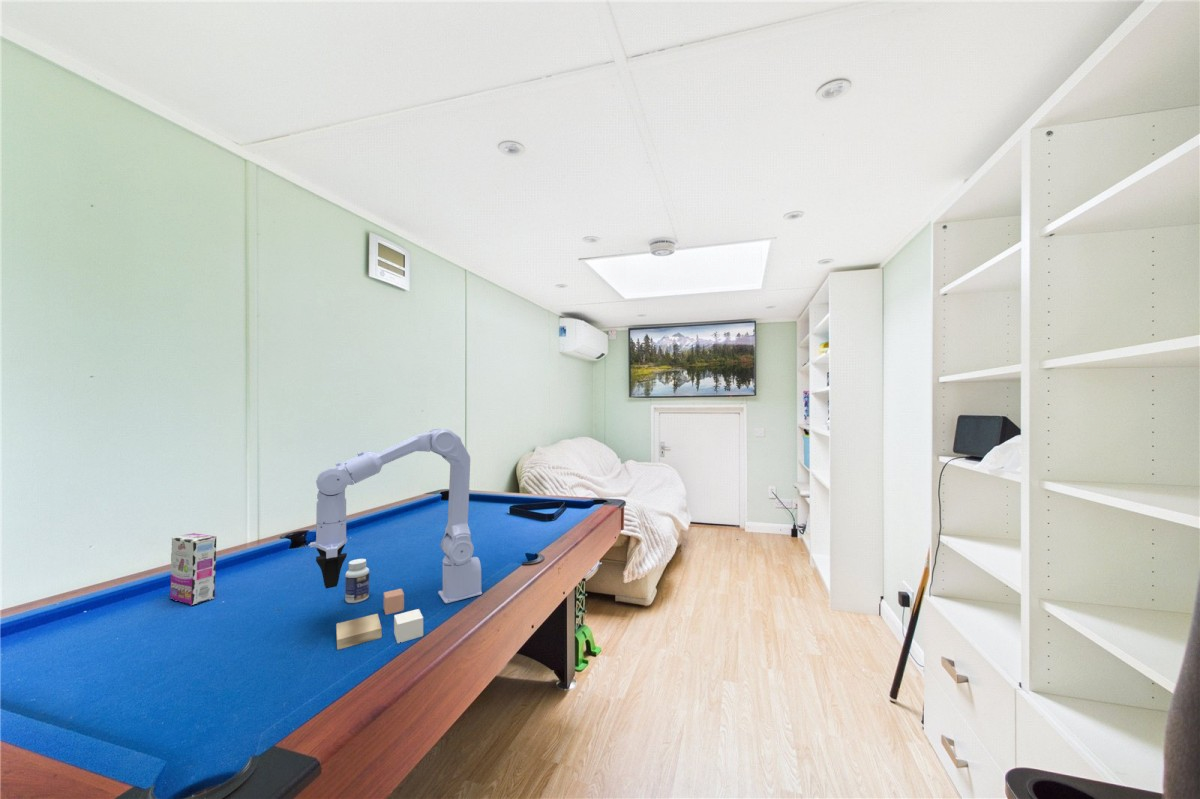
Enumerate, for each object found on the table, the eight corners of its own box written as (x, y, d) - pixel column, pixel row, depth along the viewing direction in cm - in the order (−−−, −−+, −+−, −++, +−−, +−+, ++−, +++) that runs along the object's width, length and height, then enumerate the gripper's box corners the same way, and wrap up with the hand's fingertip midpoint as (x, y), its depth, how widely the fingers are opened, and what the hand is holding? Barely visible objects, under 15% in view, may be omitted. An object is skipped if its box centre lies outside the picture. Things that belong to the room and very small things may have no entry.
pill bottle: (358, 604, 104) (358, 565, 104) (340, 603, 105) (340, 564, 106) (373, 595, 109) (374, 558, 110) (356, 593, 110) (356, 557, 111)
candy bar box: (216, 598, 109) (217, 535, 110) (192, 606, 104) (193, 541, 105) (193, 592, 113) (194, 532, 114) (168, 600, 109) (170, 537, 109)
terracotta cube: (401, 604, 104) (401, 588, 104) (403, 610, 101) (403, 593, 101) (383, 608, 102) (383, 592, 102) (385, 615, 98) (385, 598, 99)
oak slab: (377, 622, 95) (377, 613, 95) (381, 637, 88) (381, 628, 88) (336, 633, 90) (336, 623, 90) (337, 649, 84) (337, 639, 84)
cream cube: (418, 626, 93) (418, 608, 93) (423, 636, 89) (423, 617, 89) (394, 633, 90) (394, 615, 90) (397, 644, 86) (397, 624, 86)
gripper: (310, 517, 98) (310, 575, 97) (309, 531, 86) (308, 597, 85) (345, 512, 102) (345, 568, 101) (348, 525, 90) (348, 588, 89)
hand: (331, 581), depth 93 cm, fingers open, 7 cm apart
